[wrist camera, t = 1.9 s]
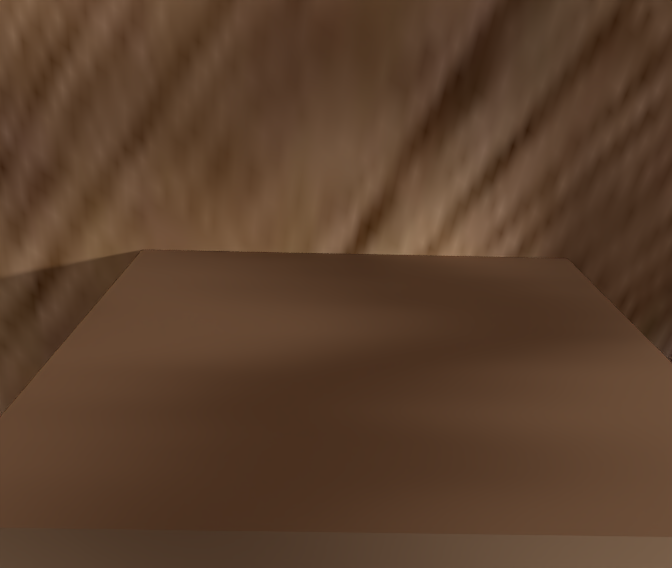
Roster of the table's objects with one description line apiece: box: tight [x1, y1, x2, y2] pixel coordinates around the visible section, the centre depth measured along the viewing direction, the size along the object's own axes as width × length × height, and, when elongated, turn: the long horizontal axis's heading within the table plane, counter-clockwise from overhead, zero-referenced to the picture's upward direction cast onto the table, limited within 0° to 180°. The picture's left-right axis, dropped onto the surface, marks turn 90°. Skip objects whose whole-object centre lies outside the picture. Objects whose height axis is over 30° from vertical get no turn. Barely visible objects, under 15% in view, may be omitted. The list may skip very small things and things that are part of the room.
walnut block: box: [0, 250, 672, 568], centre depth 7 cm, size 6×6×5 cm
